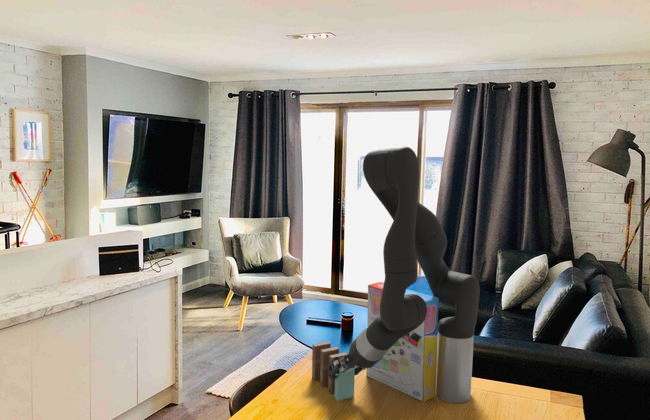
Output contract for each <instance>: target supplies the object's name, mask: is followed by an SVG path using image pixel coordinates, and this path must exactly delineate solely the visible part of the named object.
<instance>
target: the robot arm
mask: <svg viewBox="0 0 650 420" xmlns="http://www.w3.org/2000/svg"><path fill="white" fill-rule="evenodd" d="M419 165H420V164H419V160H418V157H417V154H416V151H414V150H413V149H412V148H411V147H409V146H398V147H397V146H396V147H389V148H383V149H382V148H381V149H376V150H372V151H370V152H368V153H367V154H366V155H365V156H364V158H363V161H362V172H363V175H364V178H365V181H366V183H367V184H368V187H369V188H370V190H371V191H372V193H373V194H374V195H375V197H376V198H377V199H378V200H379V202H380V203H381V204H382V206H383V207H384V209H385V210H386V212H388V214H389V215H390V217H391V219H392V220H393V221H392V223H391V225H390V228H389V229H388V232H387V234H386V237H385V239H384V242H383V244H384V245H383V250H382V251H383V254H382V255H383V267H384V281H383V283H384V286H383V291H382V297H381V302H380V316H379V317H377V318H376V319H375V320H374V321H373V322H372V323H371V324H370V325H369V326H368V325H367V327H366V328H364V329H363V330H362V331H361V332H360V333H359V334H358V336H356V337H355V339H354V340H353V341H352V342H351V343H350V345H349V349H348V353H347V355H346V356H344V357H343V358H341V359H339V358H338V357H335V358H334V359H333V360H332V361H331V363H330V364H329V365H328V369H329V377H330V379H331V380H335V379H336V378H337V377H338V376H339V375H340V374H341V373H347V372H349V371H350V370H352V369H355V376H358V375H359V374H360V373H361V372H362V371H365V370H367V368H371V367H373V366H374V365H375V364H376V363H377V362H378V361H380V360H381V359H382V358H383V356H384V355H385V354H386V353H387V352H388V350H389V349H390V348H391V347H392V346H393V345H394V344H395V343H396V342H397V341H398V340H399V339H400V338H401V337H403V336H405V335H406V334H408V333H410V332H411V331H413V330H414V329H416V328H417V327H419V326H420V325H421V324H422V323H423V322H424V320H425V318H426V316H427V305H426V303H425V301H424V299H423V298H421V297H420V296H418V295H415V294H408V295H405V292H406V289H408V288H409V287H411V286H412V285H414V284H416V282H417V280H418V270H417V268H418V266H419V267H420V268H421V271H422V272H423V275H424V276H425V279H426V282H427V283H428V286H429V289H430V292H431V293H432V296H434V297H438V298H439V303H440V304H441V305H442V306H443V305H444V306H446V307H450V308H453V309H455V312H454V316H448V317H444V318H441V319H439V320H438V335H437V366H436V395H435V397H437V398H438V399H440V400H442V401H444V402H448V403H453V404H462V403H466V402H468V401H470V400H471V397H472V396H471V395H472V393H471V392H472V391H471V390H472V376H473V374H472V373H473V360H474V359H473V357H474V340H475V339H474V337H475V328H476V326H477V321H478V310H479V302H480V294H481V293H480V292H481V291H480V282H479V280H478V278H477V277H476V276H474V275H471V274H467V273H464V272H463V273H462V272H459V271H454V270H451V269H450V268H449V267H448V265H447V264H446V262H445V261H444V256H445V253H446V250H447V246H448V238H447V235H446V233H445V230H444V228H443V227H442V224H441V223H440V220H439V219H438V217H437V215H436V214H434V213H433V212H432V211H431V210H430V209H429V208H428V207H426V206H424V205H423V204H421V202H418V201H419V186H420V166H419ZM417 263H418V264H419V265H418V266H417ZM345 364H346V366H347V367H348V368H347V369H346V366H345ZM340 368H341V370H340V371H339V369H340Z"/></svg>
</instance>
